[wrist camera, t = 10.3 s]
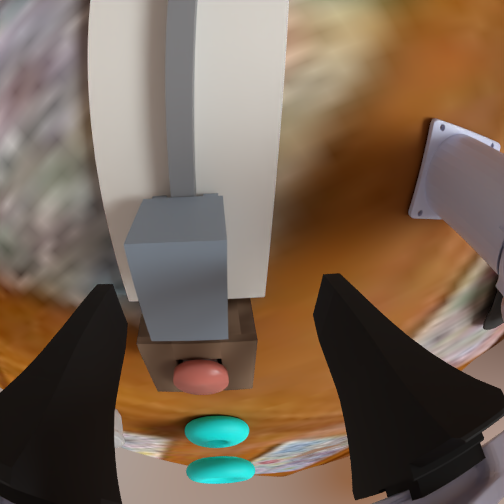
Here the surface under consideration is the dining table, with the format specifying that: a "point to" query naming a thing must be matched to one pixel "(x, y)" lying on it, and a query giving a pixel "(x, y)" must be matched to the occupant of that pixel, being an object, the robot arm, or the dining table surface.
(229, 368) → the cabinet
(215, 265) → the carriage
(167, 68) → the rail
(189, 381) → the button
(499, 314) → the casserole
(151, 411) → the dining table surface
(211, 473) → the donuts
